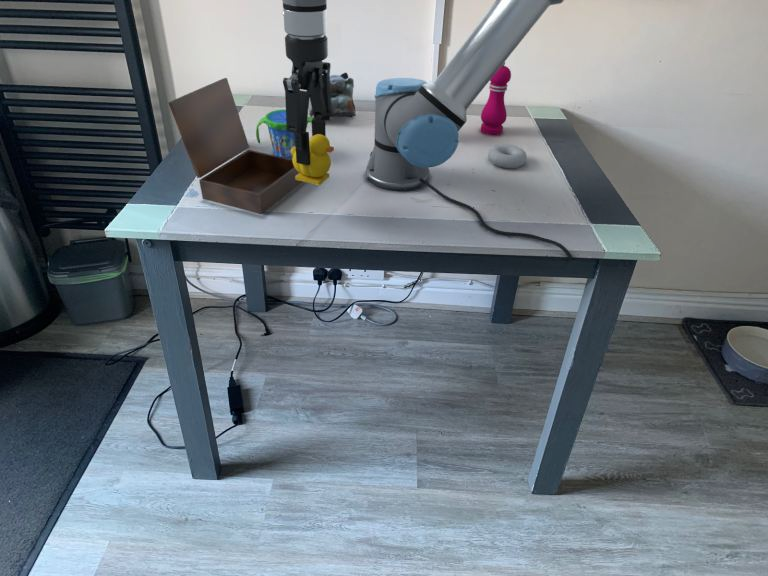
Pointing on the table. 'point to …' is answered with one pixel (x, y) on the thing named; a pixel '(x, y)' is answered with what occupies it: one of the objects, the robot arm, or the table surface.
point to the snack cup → (279, 133)
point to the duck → (315, 161)
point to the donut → (507, 156)
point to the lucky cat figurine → (340, 97)
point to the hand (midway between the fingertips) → (311, 157)
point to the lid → (209, 126)
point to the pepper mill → (496, 103)
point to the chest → (251, 181)
